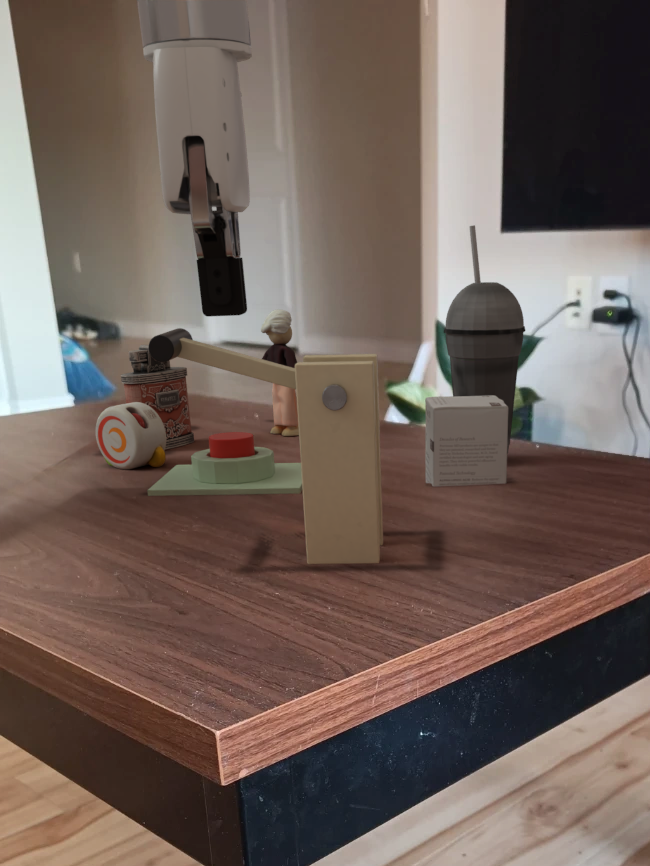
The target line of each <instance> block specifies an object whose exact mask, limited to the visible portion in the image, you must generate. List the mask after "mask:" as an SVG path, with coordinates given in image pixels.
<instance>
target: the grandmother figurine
mask: <svg viewBox="0 0 650 866" xmlns="http://www.w3.org/2000/svg"><path fill="white" fill-rule="evenodd" d="M292 321H293V319H292V315H291V313H290V312H289V311H288V310H284V309H279V308H278V309H274V310H272V311H270V313H268V315H266V317H265V319H264V321H263V323H262V324H261V327H260V332H261V333H262V334H266V335H267V337H268V339H269V340H270V342H271V343H272V345H271V346H269V347H268V349H266V351H265V352H264V354H263V356H262V357H261V359H263V360H266V361H270V362H274V363H277V364H281V365H284V366H288V367H292V368H295V364H296V363H298V360H297V356H296V352H295V351H294V349H292V348H290V347H289V346H288V344H289V343H290V341H292V338H293V329H292V326H291V325H292ZM271 395H272V411H273V413H272V414H273V425H274V426H273V427H272V428H271V430H270V434H272V435H273V434H274V435H280V434H281V436H282V437H294V436H295V437H296V436H298V437H299V426H298V410H297V395H296V389H292V388H289V387H285V386H281V385H278V384H274V383H272V391H271Z"/></svg>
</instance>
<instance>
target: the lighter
mask: <svg viewBox="0 0 650 866" xmlns="http://www.w3.org/2000/svg"><path fill="white" fill-rule="evenodd" d="M127 354H128V359H129V361H128V362H129V363H130V366H131V367H132V370H133V371H131V372H126V373H121V374H120V381H121V384H123V389H124V397H125V404H127V403H132V402H141V403H144V404H146V405H148V406H150V407H151V408H152V409H153V410H155V412H156V413H157V414H158V415H159V417H160V418H161V420H162V422H163V425H164V428H165V432H166V447H165V450H169V449H174V448H178V447H182V446H186V445H189V444H192V443H195V434H194V432H193V431H192V424H191V423H192V422H191V413H190V404H189V393H188V384H187V377H188V368H187V367H185V366H171V360H169V361H167V362H158V361H156V360H155V359H153V358H152V356H151V355H150V353H149V344H141V345H139V347H138V349H134V350H128V353H127Z"/></svg>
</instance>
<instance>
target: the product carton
mask: <svg viewBox="0 0 650 866" xmlns="http://www.w3.org/2000/svg"><path fill="white" fill-rule="evenodd" d="M424 402H425V409H424V410H425V411H424V412H425V484H431V486H432V487H458V486H459V487H461V486H481V485H482V486H483V485H505V484H507V477H508V476H507V474H508V473H507V471H508V470H507V469H508V468H507V467H508V454H507V438H508V406H507V405H506V404H505V403H504V401H503V400H501V399H499V398H498V397H497V396H494V395H492V396H453V395H451V396H427V397H425V399H424Z"/></svg>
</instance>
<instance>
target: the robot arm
mask: <svg viewBox="0 0 650 866" xmlns="http://www.w3.org/2000/svg"><path fill="white" fill-rule="evenodd" d="M136 3H137V12H138V18H139V28H140V35H141V42H142V43H141V44H142V50H143V59H144V60H145V61H147V62H150V63H152V68H153V69H152V74H153V75H152V77H153V80H152V81H153V99H154V101H153V102H154V113H155V129H156V138H157V149H158V150H157V151H158V162H159V172H160V174H159V176H160V186H161V195H162V201H163V204H164V206H165V207H166V209H167V210H168V211H170V212H171V213H172V214H179V215H190V218H191V220H190V221H191V226H192V233H193V241H194V247H195V253H196V258H197V259H196V268H197V278H198V284H199V295H200V301H201V302H200V303H201V311H202V314H203V316H205V317H229V316H230V317H231V316H232V317H233V316H241V315H245V314H246V313H247V312H248V302H247V291H246V283H245V272H244V271H245V270H244V261H243V257H241V256H242V255H241V254H242V253H241V251H242V250H241V239H240V223H239V222H240V221H239V213H243V212H245V211H246V210H247V209H248V207H249V206H250V202H251V201H250V200H251V197H250V196H251V193H250V192H251V191H250V173H249V161H248V150H247V149H248V148H247V140H246V130H245V129H246V128H245V119H244V110H243V101H242V96H243V95H242V92H241V91H242V90H241V84H240V74H239V67H238V63H241V62H245V61H247V60H251V58H253V53H252V52H253V51H252V42H251V32H250V31H251V29H250V18H249V8H248V7H249V5H248V0H136ZM213 208H216V210H213Z"/></svg>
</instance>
